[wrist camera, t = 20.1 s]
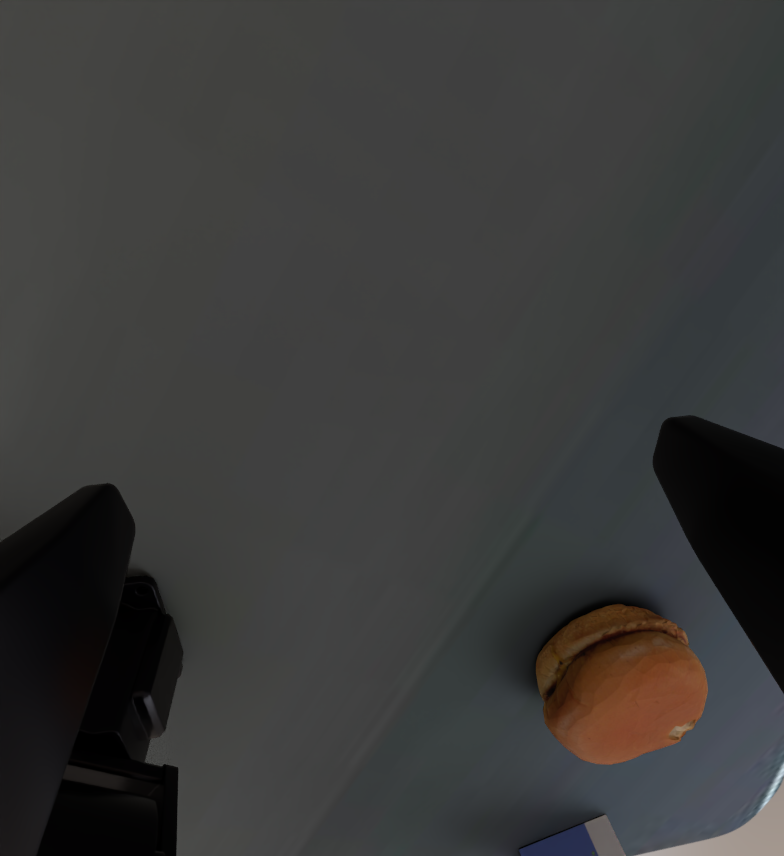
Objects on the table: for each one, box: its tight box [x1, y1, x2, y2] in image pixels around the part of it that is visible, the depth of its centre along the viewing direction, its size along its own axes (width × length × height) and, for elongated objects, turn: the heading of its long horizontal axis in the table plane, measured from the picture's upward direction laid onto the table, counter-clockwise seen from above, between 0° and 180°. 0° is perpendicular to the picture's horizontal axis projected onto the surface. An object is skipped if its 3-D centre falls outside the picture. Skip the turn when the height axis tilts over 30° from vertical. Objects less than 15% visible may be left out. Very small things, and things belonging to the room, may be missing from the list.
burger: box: [536, 604, 708, 765], centre depth 29 cm, size 10×9×5 cm
